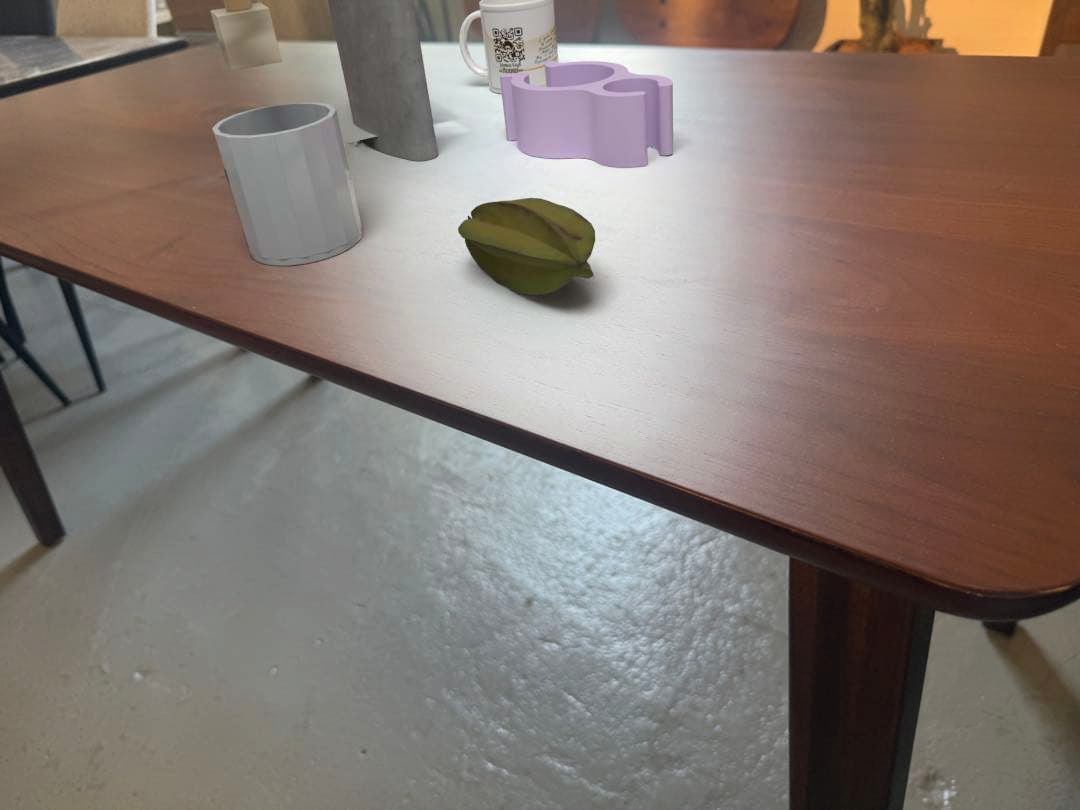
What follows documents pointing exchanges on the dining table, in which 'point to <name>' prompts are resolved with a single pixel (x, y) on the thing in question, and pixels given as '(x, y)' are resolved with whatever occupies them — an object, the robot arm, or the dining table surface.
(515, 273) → the fruit
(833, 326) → the dining table surface
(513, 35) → the mug
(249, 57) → the brush
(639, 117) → the clip
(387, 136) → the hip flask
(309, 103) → the canister
